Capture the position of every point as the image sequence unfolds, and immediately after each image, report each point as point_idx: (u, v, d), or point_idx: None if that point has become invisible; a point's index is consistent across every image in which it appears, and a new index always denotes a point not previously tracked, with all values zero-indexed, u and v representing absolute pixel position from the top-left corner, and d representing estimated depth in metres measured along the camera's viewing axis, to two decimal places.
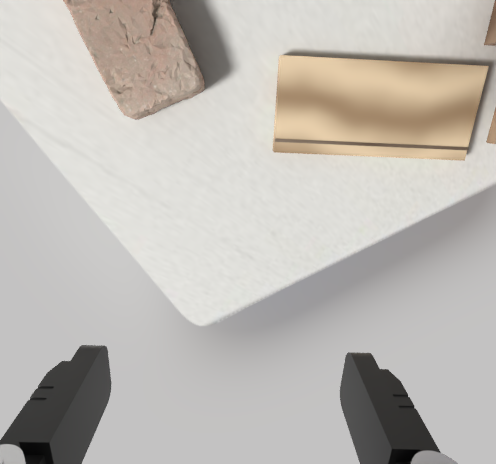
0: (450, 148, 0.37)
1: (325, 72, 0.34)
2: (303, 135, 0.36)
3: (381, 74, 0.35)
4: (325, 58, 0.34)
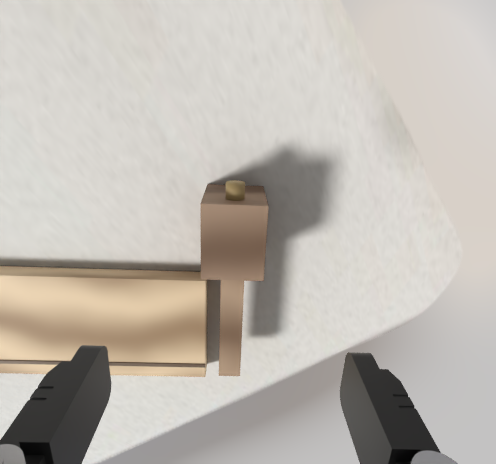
0: (183, 364, 0.30)
1: None
2: None
3: (68, 291, 0.27)
4: None
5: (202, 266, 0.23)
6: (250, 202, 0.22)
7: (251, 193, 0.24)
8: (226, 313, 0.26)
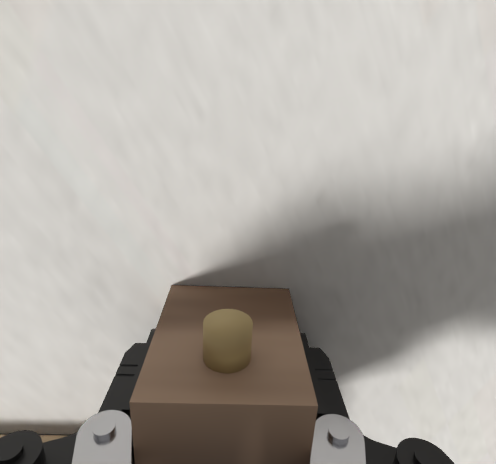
0: None
1: None
2: None
3: None
4: None
5: None
6: (266, 382, 0.08)
7: (266, 326, 0.10)
8: None
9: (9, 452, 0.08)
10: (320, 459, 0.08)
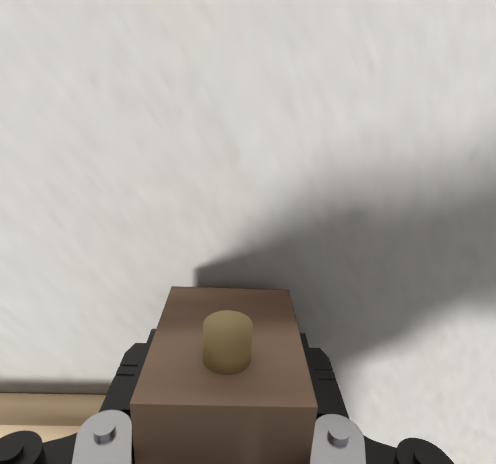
0: None
1: None
2: None
3: None
4: None
5: None
6: (267, 383, 0.08)
7: (266, 327, 0.10)
8: None
9: (9, 452, 0.08)
10: (320, 459, 0.08)
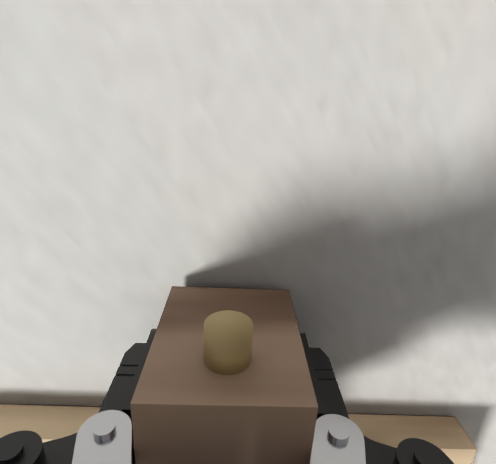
0: None
1: None
2: None
3: None
4: None
5: None
6: (267, 383, 0.08)
7: (266, 327, 0.10)
8: None
9: (10, 451, 0.08)
10: (320, 459, 0.08)
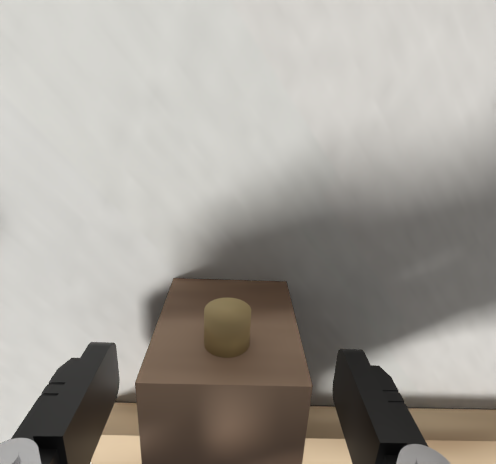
0: None
1: None
2: None
3: (348, 462, 0.14)
4: None
5: None
6: (264, 365, 0.09)
7: (264, 315, 0.11)
8: None
9: None
10: None
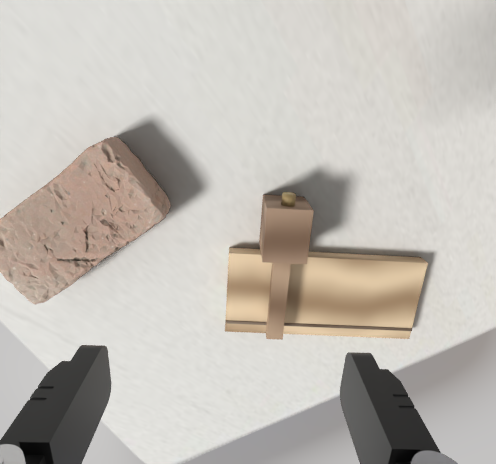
0: (394, 328, 0.39)
1: None
2: (253, 317, 0.38)
3: (326, 269, 0.36)
4: None
5: (264, 252, 0.32)
6: (300, 207, 0.31)
7: (297, 201, 0.33)
8: (275, 289, 0.35)
9: None
10: None
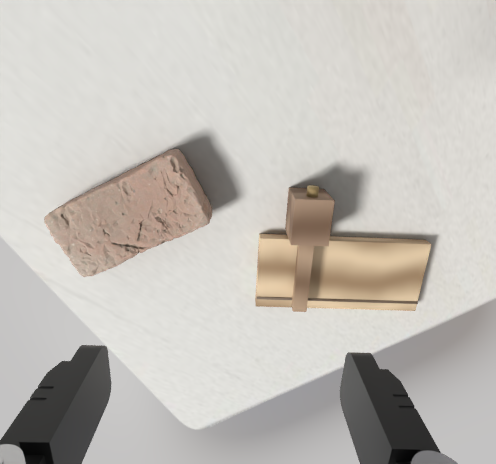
0: (402, 302, 0.45)
1: None
2: (280, 294, 0.44)
3: (343, 251, 0.42)
4: None
5: (292, 237, 0.38)
6: (322, 198, 0.37)
7: (319, 193, 0.39)
8: (301, 269, 0.40)
9: None
10: None
